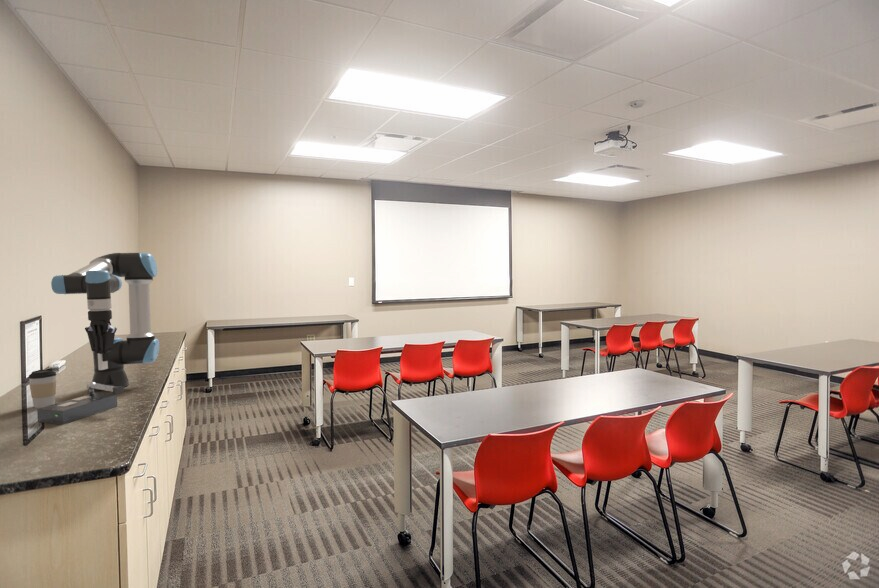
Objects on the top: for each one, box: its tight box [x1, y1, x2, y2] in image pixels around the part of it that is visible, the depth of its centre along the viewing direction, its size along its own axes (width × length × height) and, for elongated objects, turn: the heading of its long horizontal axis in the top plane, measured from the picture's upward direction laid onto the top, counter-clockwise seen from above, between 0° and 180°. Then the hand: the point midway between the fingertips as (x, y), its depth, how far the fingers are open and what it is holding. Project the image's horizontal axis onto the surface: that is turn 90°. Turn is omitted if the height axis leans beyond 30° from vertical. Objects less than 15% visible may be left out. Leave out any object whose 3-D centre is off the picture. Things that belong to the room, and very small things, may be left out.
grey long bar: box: [86, 381, 125, 395], centre depth 187 cm, size 21×3×2 cm, turn 65°
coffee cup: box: [27, 368, 57, 409], centre depth 193 cm, size 9×9×15 cm
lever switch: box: [36, 388, 118, 425], centre depth 181 cm, size 22×12×8 cm, turn 167°
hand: (103, 369), depth 182 cm, fingers closed
